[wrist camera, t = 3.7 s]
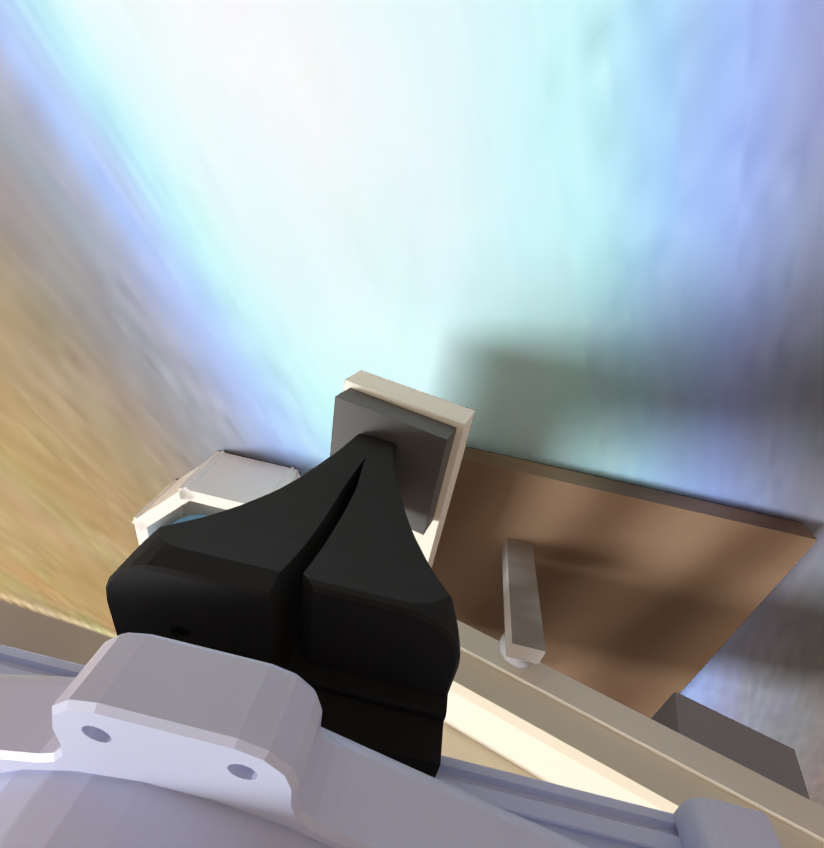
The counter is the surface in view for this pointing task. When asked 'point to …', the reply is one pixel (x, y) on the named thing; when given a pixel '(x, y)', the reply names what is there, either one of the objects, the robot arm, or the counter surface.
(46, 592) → the counter surface
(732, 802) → the tipping lever
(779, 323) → the counter surface
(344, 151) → the counter surface
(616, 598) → the lever stand
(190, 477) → the cup
